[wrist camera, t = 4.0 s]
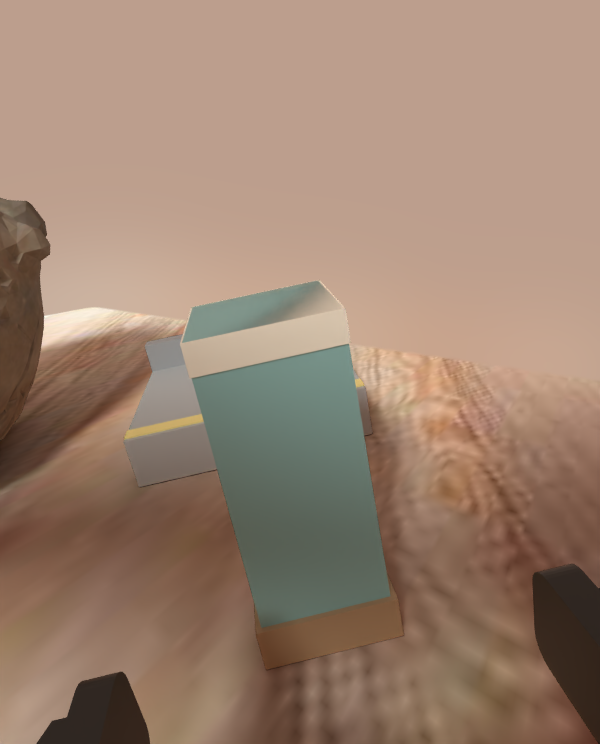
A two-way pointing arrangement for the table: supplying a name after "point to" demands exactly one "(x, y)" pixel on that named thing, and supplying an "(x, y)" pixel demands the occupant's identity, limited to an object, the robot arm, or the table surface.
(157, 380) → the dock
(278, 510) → the teal tall block
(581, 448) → the table surface
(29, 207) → the bowl
